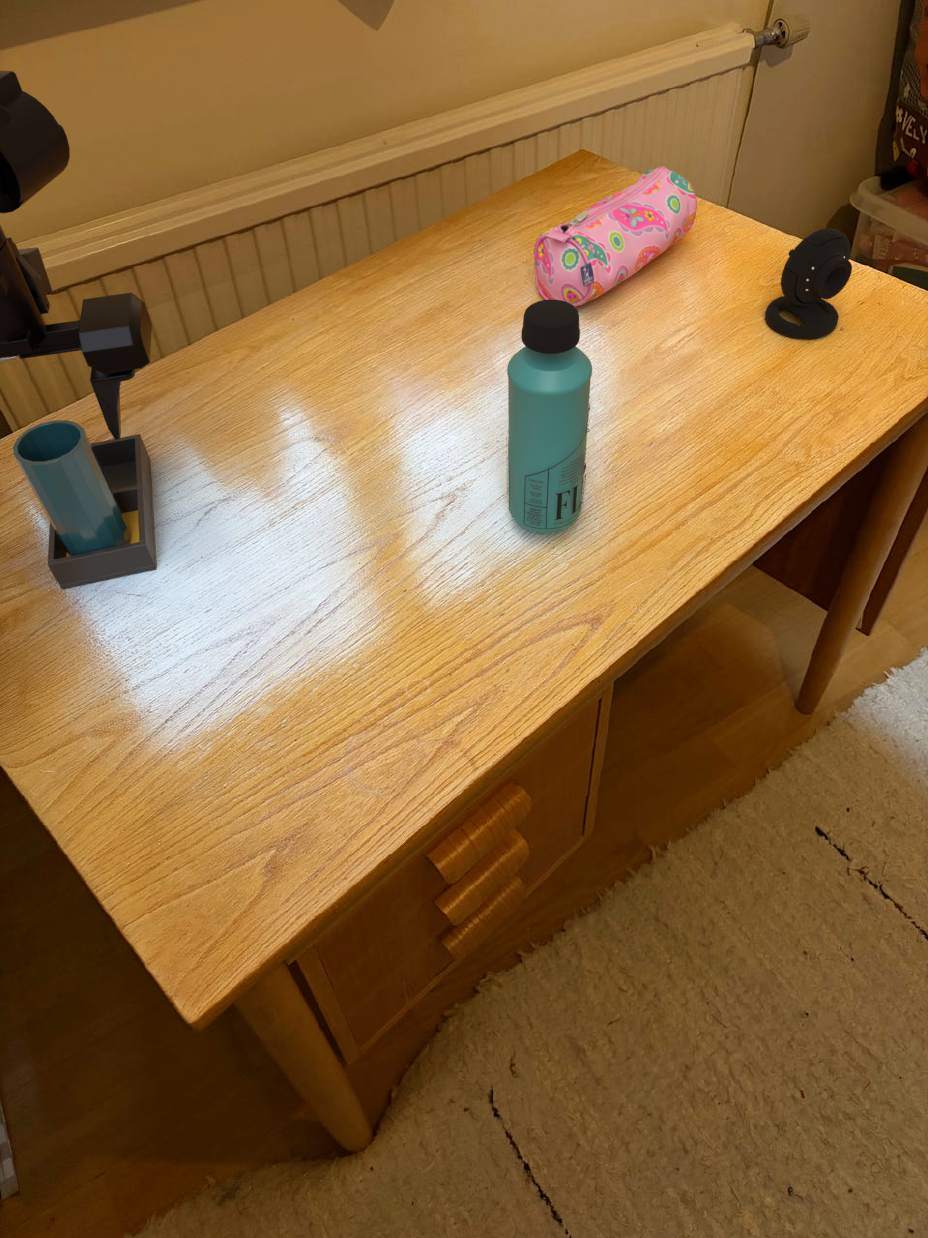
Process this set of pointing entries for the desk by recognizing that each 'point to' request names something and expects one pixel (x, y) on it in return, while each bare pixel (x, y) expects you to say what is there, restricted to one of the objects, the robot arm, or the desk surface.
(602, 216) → the pencil case
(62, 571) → the holder
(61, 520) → the cup
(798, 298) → the webcam
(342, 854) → the desk surface
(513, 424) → the beverage bottle
